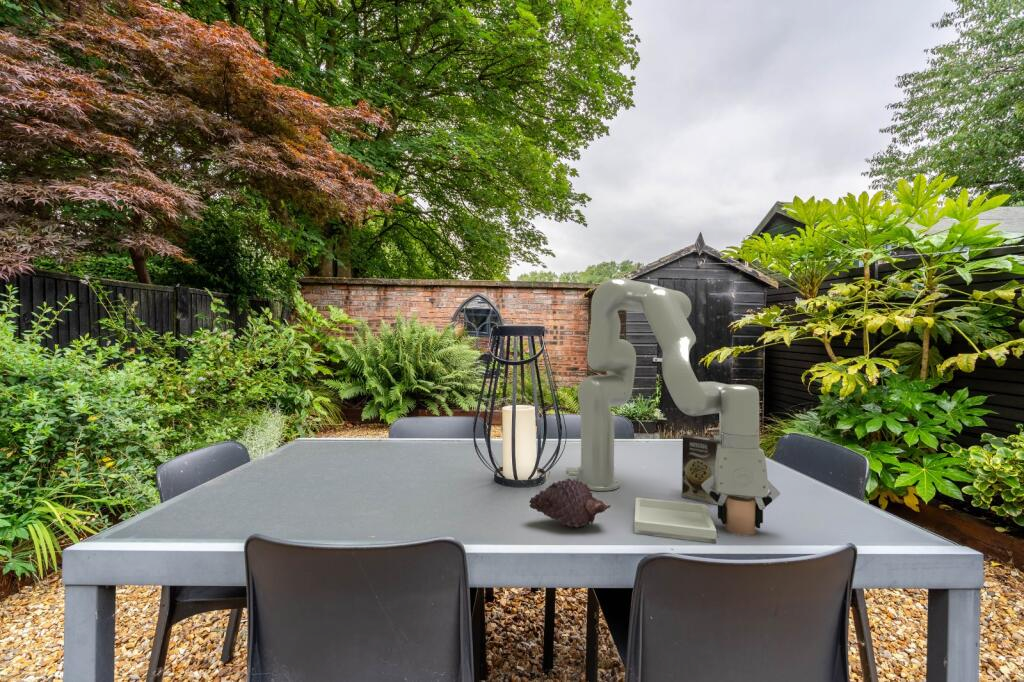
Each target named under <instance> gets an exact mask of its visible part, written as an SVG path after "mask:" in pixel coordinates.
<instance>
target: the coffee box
mask: <svg viewBox="0 0 1024 682" xmlns="http://www.w3.org/2000/svg"><path fill="white" fill-rule="evenodd" d="M718 445H721V443H720V442H719V441H714V436H707V435H700V434H693V433H691V434H686V435H683V436H682V454H681V455H682V465H681V466H682V467H681V469H682V471H681V475H682V478H681V482H682V483H681V496H682V497H683V498H687V499H691V500H694V501H699V502H702V503H706V502H707V504H710V503H711V504H710V505H714V504H715V505H714V506H716V504H717V505H718V503H717V502H716V501H715V500H714V499H713V498H712V497H711V496H710V495H709V494H708V493H707V492H706V491H705V490H704V489H703V488H702V483H703V482H705V481H706V480H707V479H708V478H709V477H710V476H712V475H713V474H714V467H715V457H716V451H717V447H718ZM710 488H711V489H712V490H714V491H715V492H716V493H717V494H718V491H717V489H716V486H715V485H714V484H713V485H711V487H710Z"/></svg>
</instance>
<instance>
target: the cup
mask: <svg viewBox="0 0 1024 682" xmlns="http://www.w3.org/2000/svg"><path fill="white" fill-rule="evenodd" d="M724 503H725V506H726V524H725V525H724V529H725V530H726V531H727V530H728V531H727V532H729V531H730V532H729V533H731V532H732V534H734V533H735V534H734V535H737V534H740V535H739V536H743V535H751V536H754V535H755V534H756V529H757V527H756V500H755V498H753V497H744V496H734V495H727V498H726V500H725V502H724Z"/></svg>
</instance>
